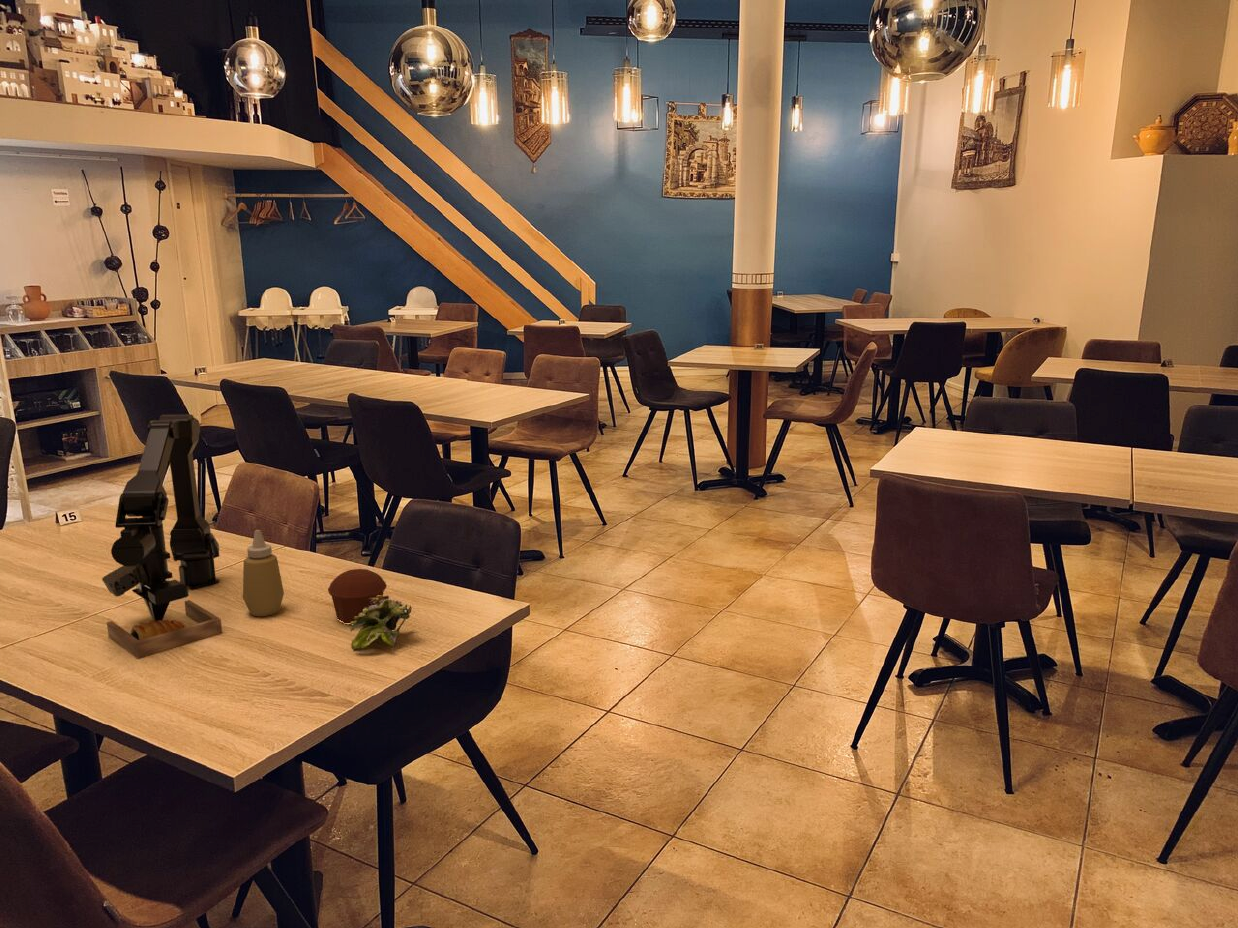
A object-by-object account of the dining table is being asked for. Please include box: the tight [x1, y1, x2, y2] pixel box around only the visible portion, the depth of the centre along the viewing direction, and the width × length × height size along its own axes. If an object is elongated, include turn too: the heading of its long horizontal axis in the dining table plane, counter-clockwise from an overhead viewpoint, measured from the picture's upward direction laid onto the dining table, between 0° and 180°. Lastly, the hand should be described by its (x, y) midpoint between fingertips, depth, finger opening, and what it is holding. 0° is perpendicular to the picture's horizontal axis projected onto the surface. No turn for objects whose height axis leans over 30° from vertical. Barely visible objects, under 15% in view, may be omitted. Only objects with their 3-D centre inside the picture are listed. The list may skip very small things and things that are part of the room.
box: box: [106, 599, 223, 659], centre depth 178 cm, size 16×14×3 cm
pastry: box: [130, 619, 186, 641], centre depth 177 cm, size 9×7×4 cm
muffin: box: [327, 568, 388, 623], centre depth 186 cm, size 12×11×10 cm
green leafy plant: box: [349, 594, 413, 651], centre depth 174 cm, size 11×11×12 cm
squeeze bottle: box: [242, 529, 285, 617], centre depth 188 cm, size 8×8×18 cm
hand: (158, 622), depth 180 cm, fingers closed
